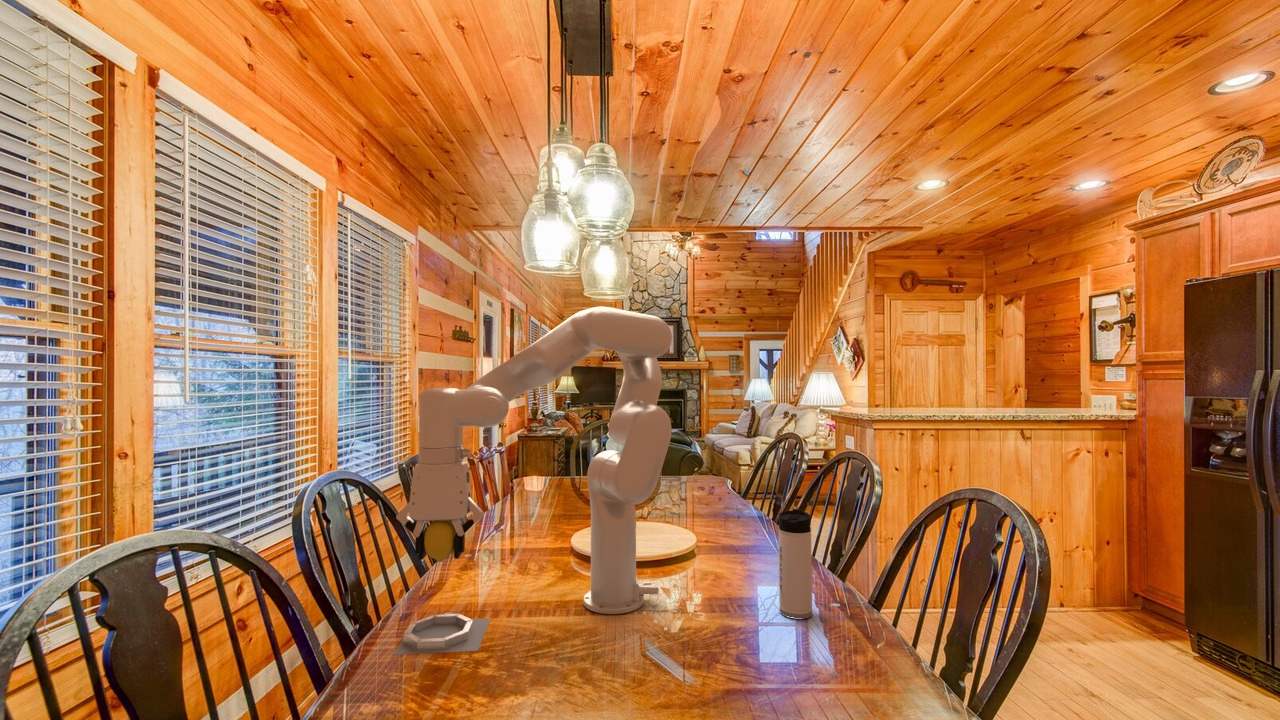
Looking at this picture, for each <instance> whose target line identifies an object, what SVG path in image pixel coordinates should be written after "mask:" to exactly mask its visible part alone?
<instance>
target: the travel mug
mask: <svg viewBox="0 0 1280 720" xmlns="http://www.w3.org/2000/svg"><path fill="white" fill-rule="evenodd" d="M811 522H812V516H811V515H810V514H809V513H808V512H805V511H802V509H799V508H793V509H791V510H784V511H782V512H779V514H778V577H779V578H778V579H779V580H778V581H779V582H778V586H779V587H778V590H779V592H778V593H779V595H778V596H779V597H778V598H779V613H780V612H781V613H782V614H784V615H786V616H789V617H794V618H807V617H810V616H811V615H812V616H813V596H812V595H813V594H812V593H813V589H812V588H813V585H812V583H813V582H812V581H813V575H812V574H813V573H812V528H811V526H812V525H811V524H812V523H811ZM781 613H780V614H781ZM782 614H781V615H782ZM812 616H811V617H812ZM811 617H810V618H811Z"/></svg>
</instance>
